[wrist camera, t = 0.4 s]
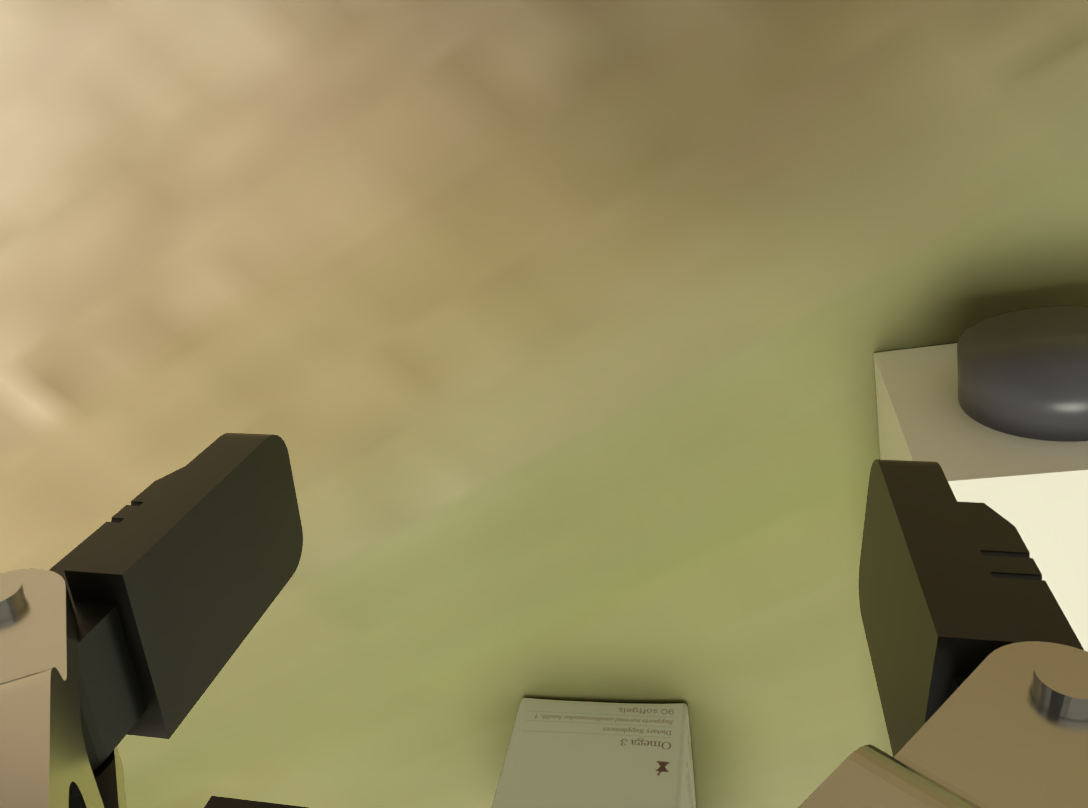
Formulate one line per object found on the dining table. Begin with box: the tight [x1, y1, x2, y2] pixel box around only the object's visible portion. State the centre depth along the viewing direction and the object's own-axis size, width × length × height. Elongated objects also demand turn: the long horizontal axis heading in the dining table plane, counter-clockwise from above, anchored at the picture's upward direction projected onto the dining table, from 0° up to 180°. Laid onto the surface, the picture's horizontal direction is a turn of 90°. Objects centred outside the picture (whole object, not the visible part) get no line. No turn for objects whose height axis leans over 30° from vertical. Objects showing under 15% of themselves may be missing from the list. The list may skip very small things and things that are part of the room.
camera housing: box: [874, 306, 1088, 652], centre depth 28 cm, size 22×9×9 cm, turn 13°
